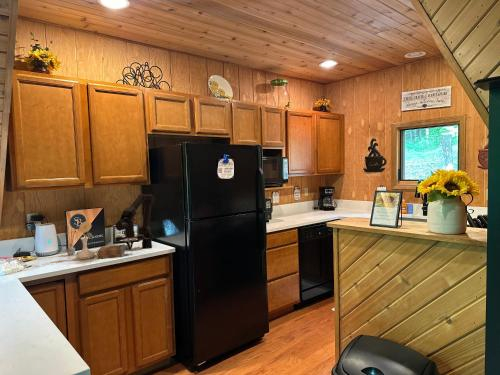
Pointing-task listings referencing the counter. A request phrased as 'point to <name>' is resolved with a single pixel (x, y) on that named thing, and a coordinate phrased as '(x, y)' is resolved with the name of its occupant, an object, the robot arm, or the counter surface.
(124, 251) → the grey jagged bowl
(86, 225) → the flower in vase
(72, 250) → the reed diffuser
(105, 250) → the housing
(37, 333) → the counter surface
